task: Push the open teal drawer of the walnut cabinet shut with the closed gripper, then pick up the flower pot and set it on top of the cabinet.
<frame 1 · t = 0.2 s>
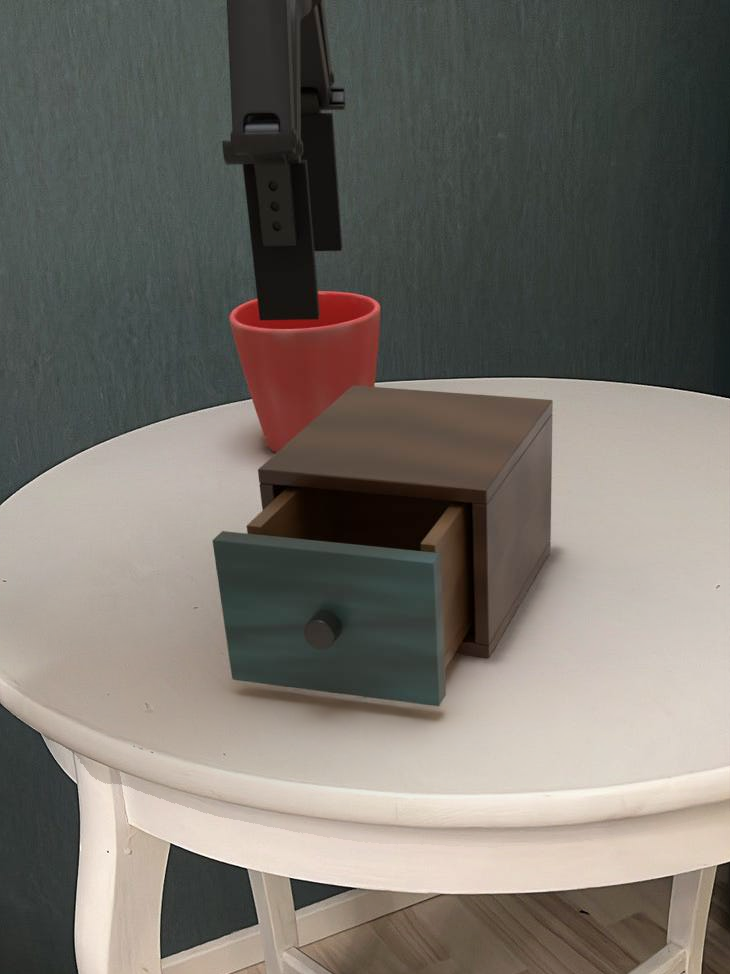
hand: (304, 282, 68), 18 cm above the table, tool pointing down, fingers open, 13 cm apart
drawer: (368, 573, 72), point 5 cm above the table, slide at 6.0 cm
flower pot: (317, 444, 103), on the table
cabinet: (420, 590, 81), on the table
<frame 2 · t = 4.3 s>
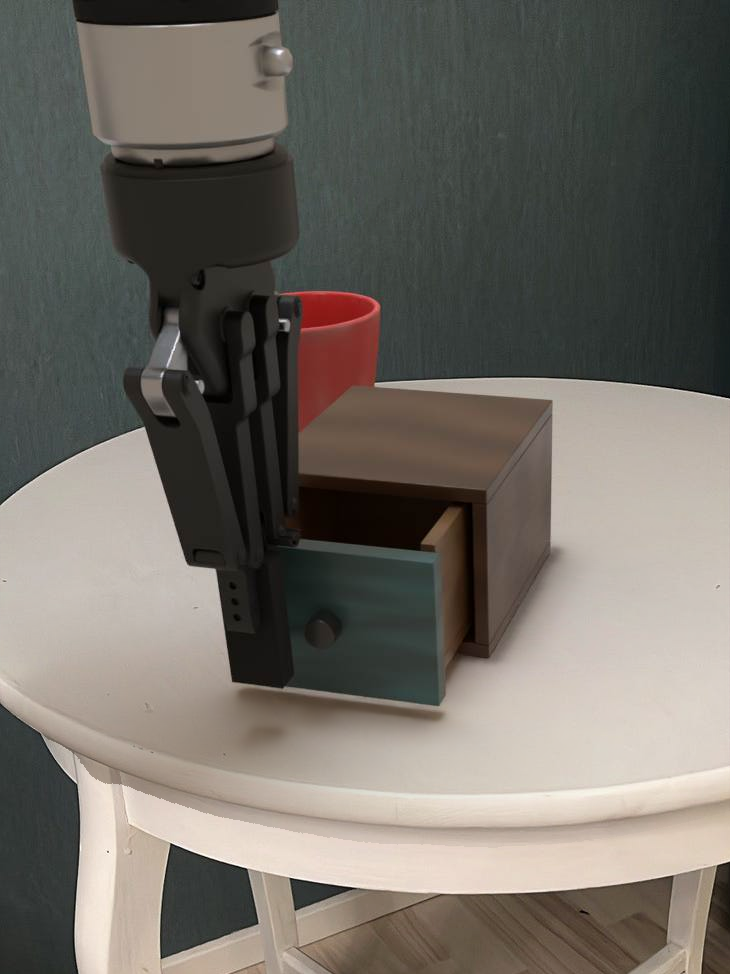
hand: (263, 677, 67), 3 cm above the table, tool pointing down, fingers closed
drawer: (368, 573, 72), point 5 cm above the table, slide at 6.0 cm, touching gripper
everything else where it was.
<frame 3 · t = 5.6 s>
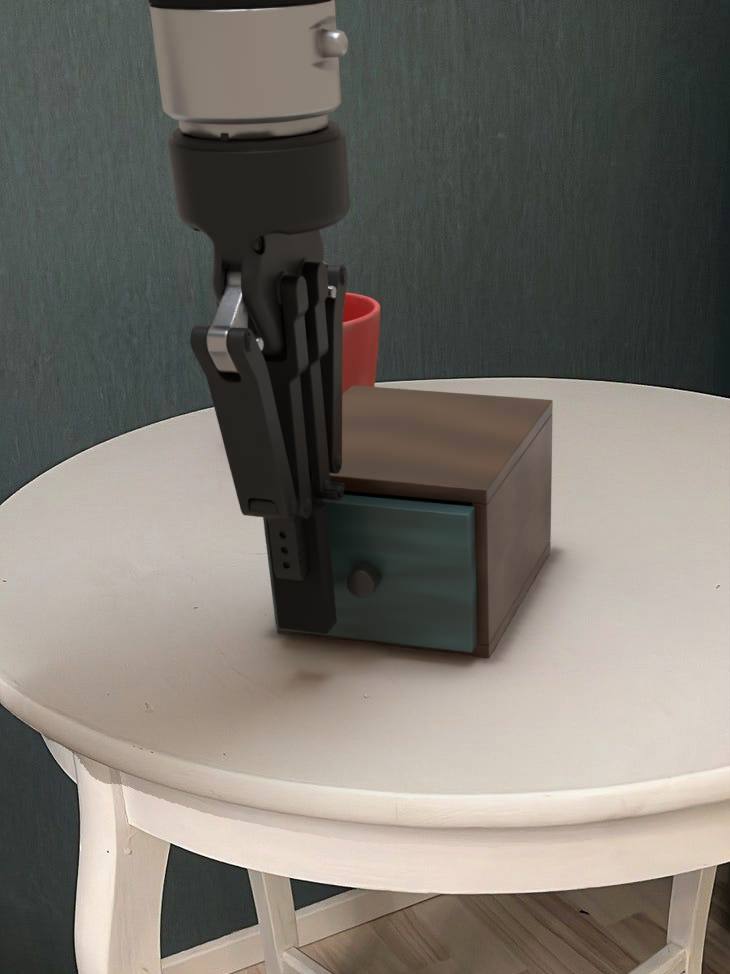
hand: (307, 624, 71), 3 cm above the table, tool pointing down, fingers closed
drawer: (403, 530, 76), point 5 cm above the table, slide at 0.1 cm, touching gripper
everything else where it was.
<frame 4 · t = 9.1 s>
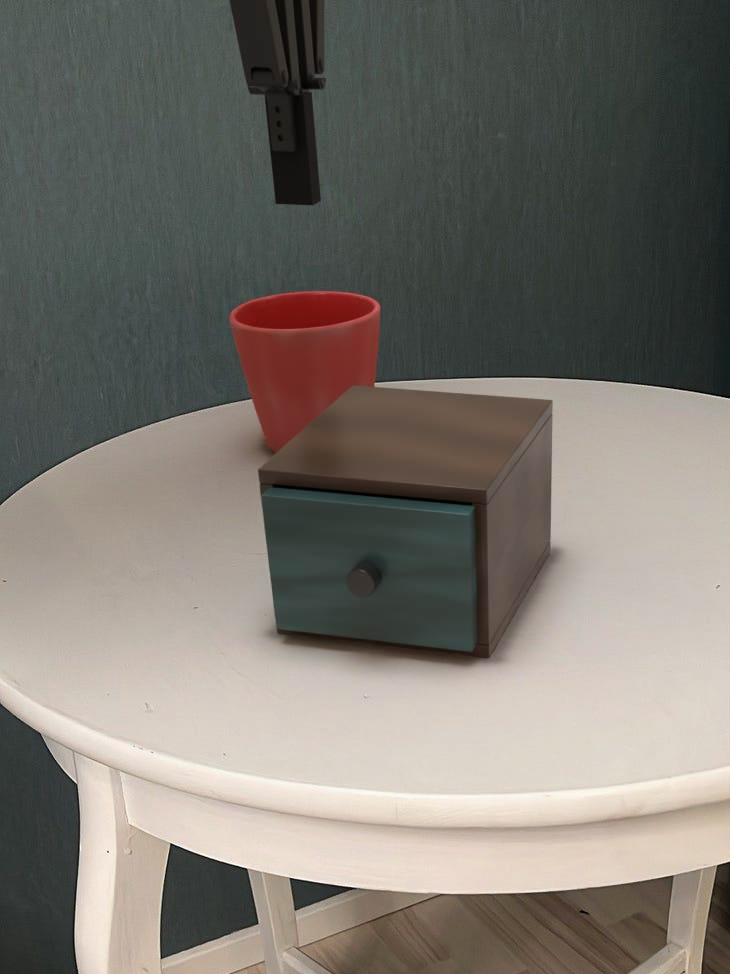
hand: (298, 202, 92), 17 cm above the table, tool pointing down, fingers closed
drawer: (404, 529, 76), point 5 cm above the table, slide at 0.0 cm, touching cabinet
everything else where it was.
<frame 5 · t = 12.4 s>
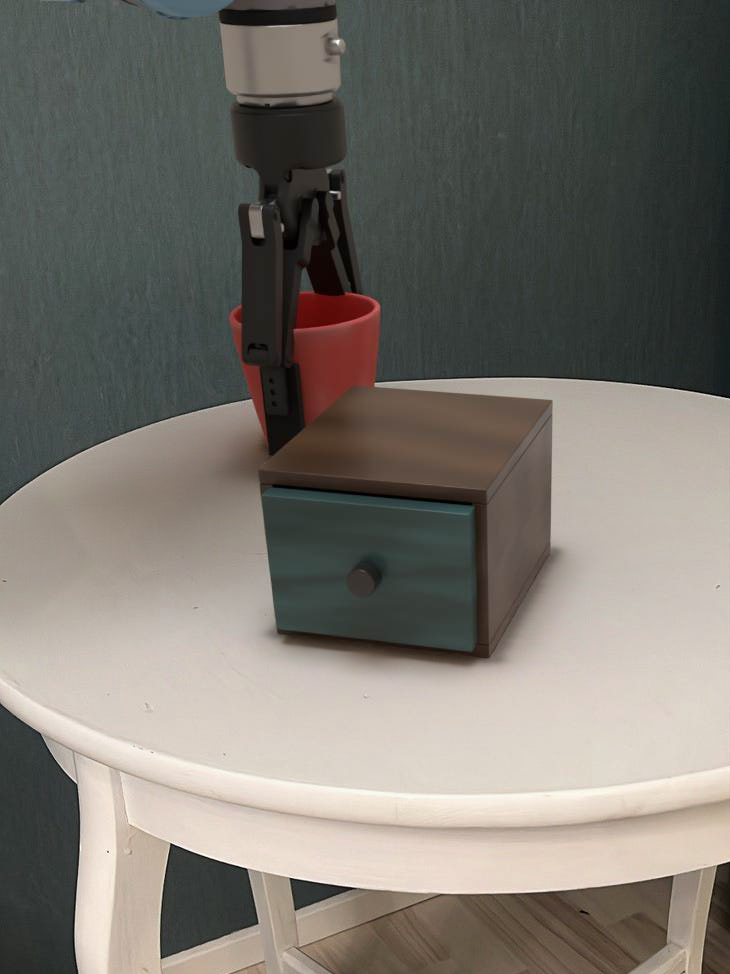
hand: (316, 430, 102), 1 cm above the table, tool pointing down, fingers closed on flower pot, 10 cm apart
flower pot: (317, 444, 103), on the table, touching gripper
everything else where it was.
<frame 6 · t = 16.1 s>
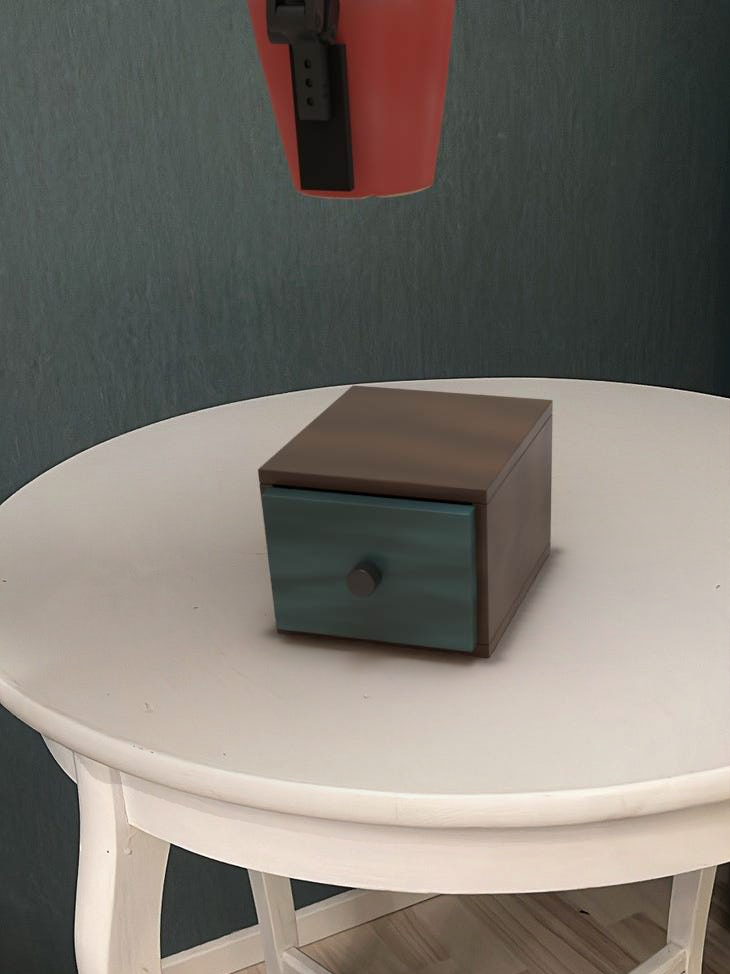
hand: (361, 170, 74), 22 cm above the table, tool pointing down, fingers closed on flower pot, 10 cm apart
flower pot: (363, 191, 75), point 21 cm above the table, touching gripper
everything else where it was.
when the fingers open (10 cm above the table, at t = 20.0 s): flower pot stays where it is, resting on cabinet.
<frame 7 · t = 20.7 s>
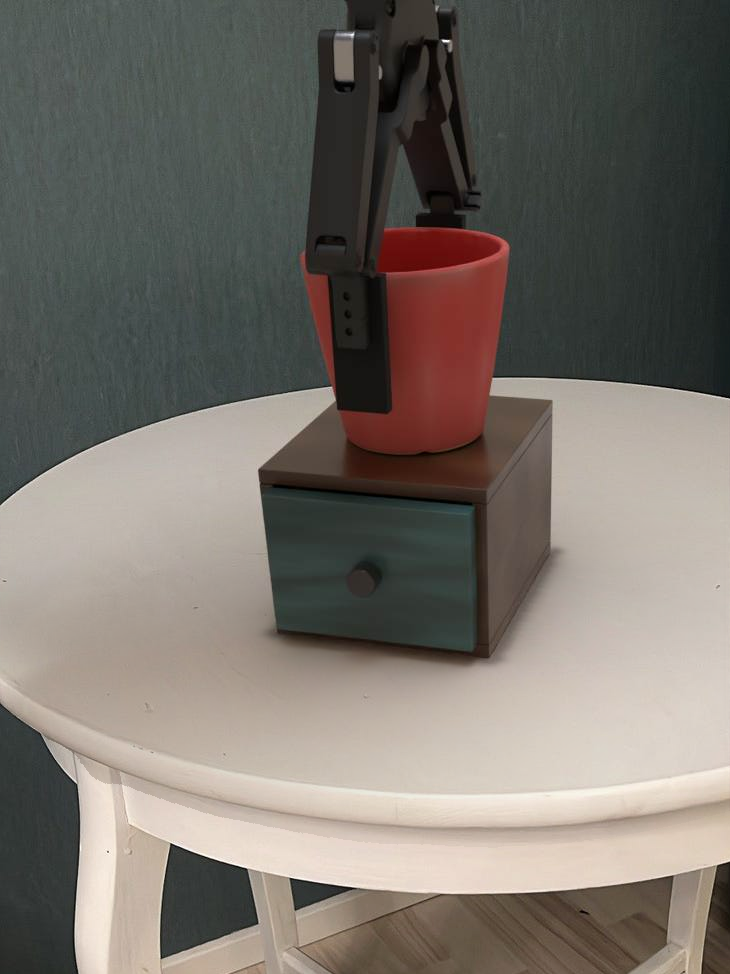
hand: (407, 371, 73), 13 cm above the table, tool pointing down, fingers open, 13 cm apart
flower pot: (413, 436, 76), point 9 cm above the table, touching cabinet
everything else where it was.
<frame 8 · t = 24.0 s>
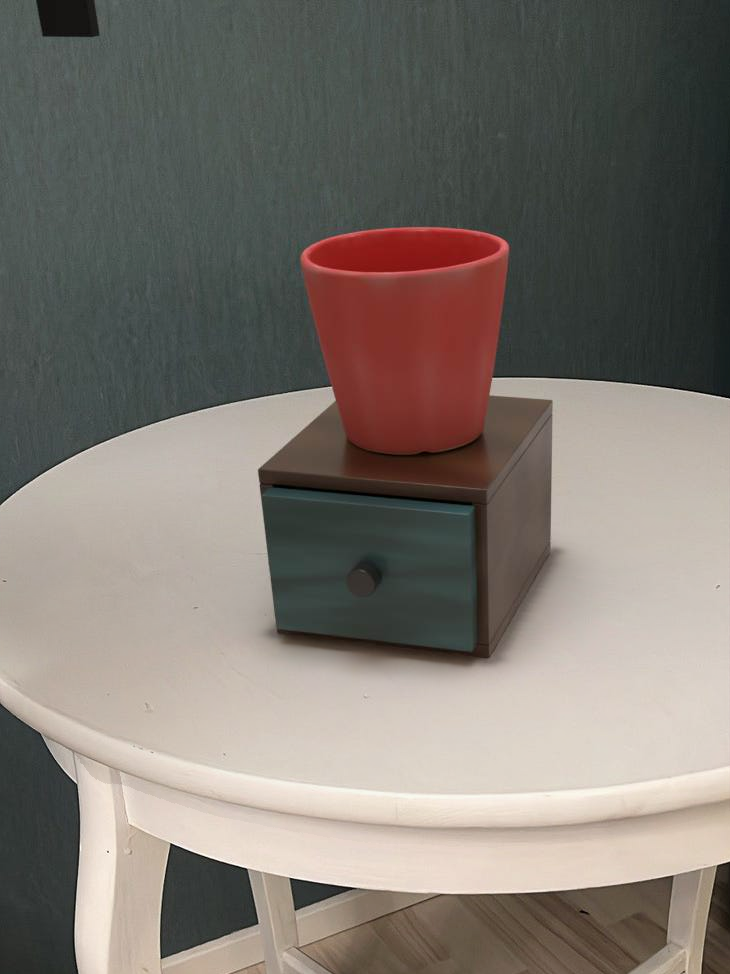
nothing on the table moved.
at the end: drawer slide at 0.0 cm; flower pot inside the target area on the cabinet (0.0 cm from its centre), point 9.4 cm above the cabinet's base; flower pot tilted 0° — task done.
